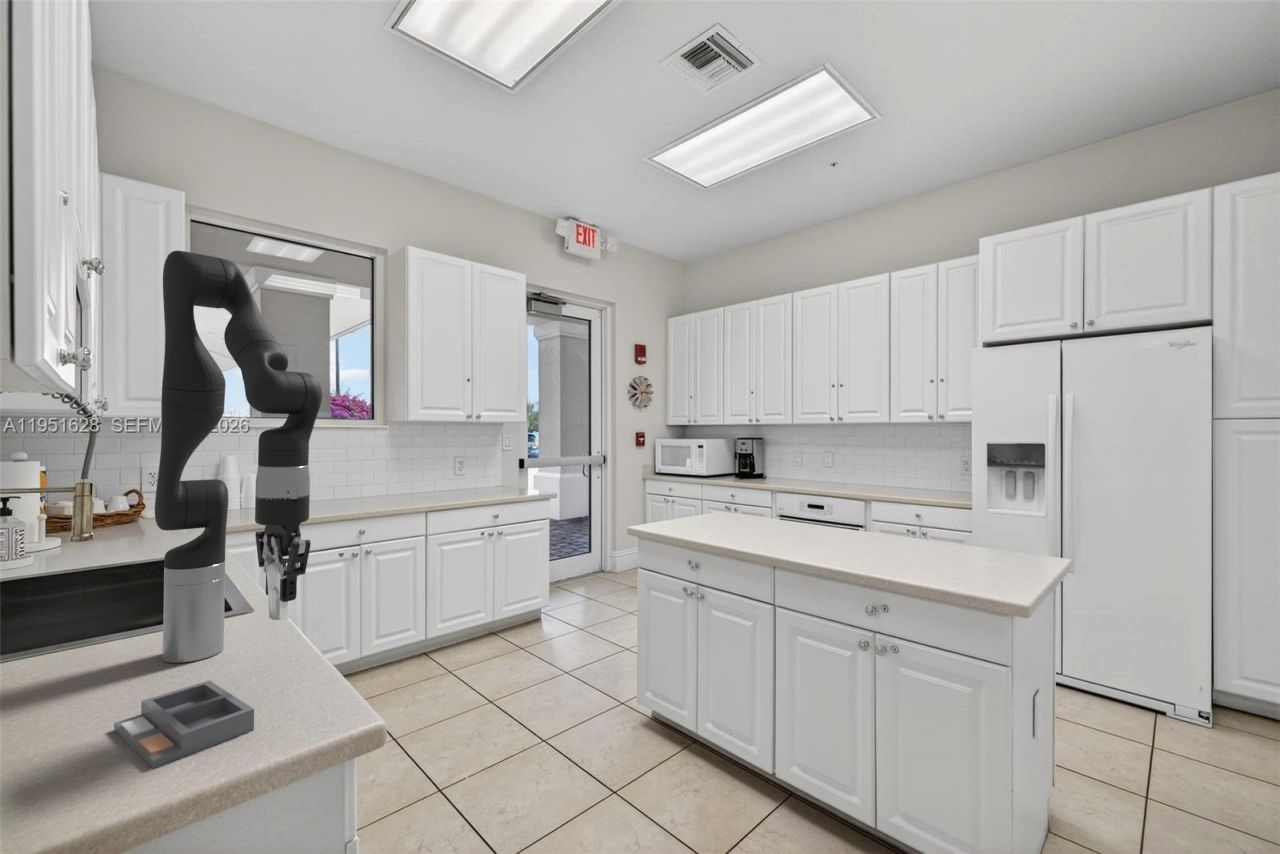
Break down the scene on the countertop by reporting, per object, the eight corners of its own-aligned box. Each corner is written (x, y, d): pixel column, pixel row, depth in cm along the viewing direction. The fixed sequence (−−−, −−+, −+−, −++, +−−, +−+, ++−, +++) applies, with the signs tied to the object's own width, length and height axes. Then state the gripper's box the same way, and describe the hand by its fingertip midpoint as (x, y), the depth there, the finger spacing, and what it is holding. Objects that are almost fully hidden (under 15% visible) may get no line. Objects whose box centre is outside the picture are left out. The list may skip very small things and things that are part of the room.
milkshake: (261, 624, 90) (263, 561, 89) (267, 613, 95) (269, 553, 94) (294, 621, 92) (296, 559, 91) (299, 610, 96) (301, 551, 96)
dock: (114, 729, 82) (114, 708, 82) (209, 699, 91) (209, 680, 91) (152, 768, 73) (153, 744, 73) (253, 729, 82) (254, 709, 82)
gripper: (237, 491, 94) (235, 594, 94) (279, 499, 86) (276, 612, 86) (286, 487, 100) (284, 584, 100) (329, 495, 92) (327, 600, 92)
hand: (280, 597), depth 93 cm, fingers closed on milkshake, 4 cm apart
